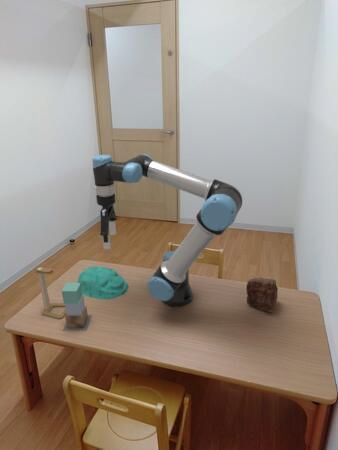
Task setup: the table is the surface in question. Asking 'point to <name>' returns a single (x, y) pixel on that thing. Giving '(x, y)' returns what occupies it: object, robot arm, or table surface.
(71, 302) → the teal block
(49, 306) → the headphone stand
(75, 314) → the gray block
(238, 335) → the table surface
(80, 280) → the decorative stone
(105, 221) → the robot arm
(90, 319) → the coaster
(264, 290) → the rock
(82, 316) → the base block
